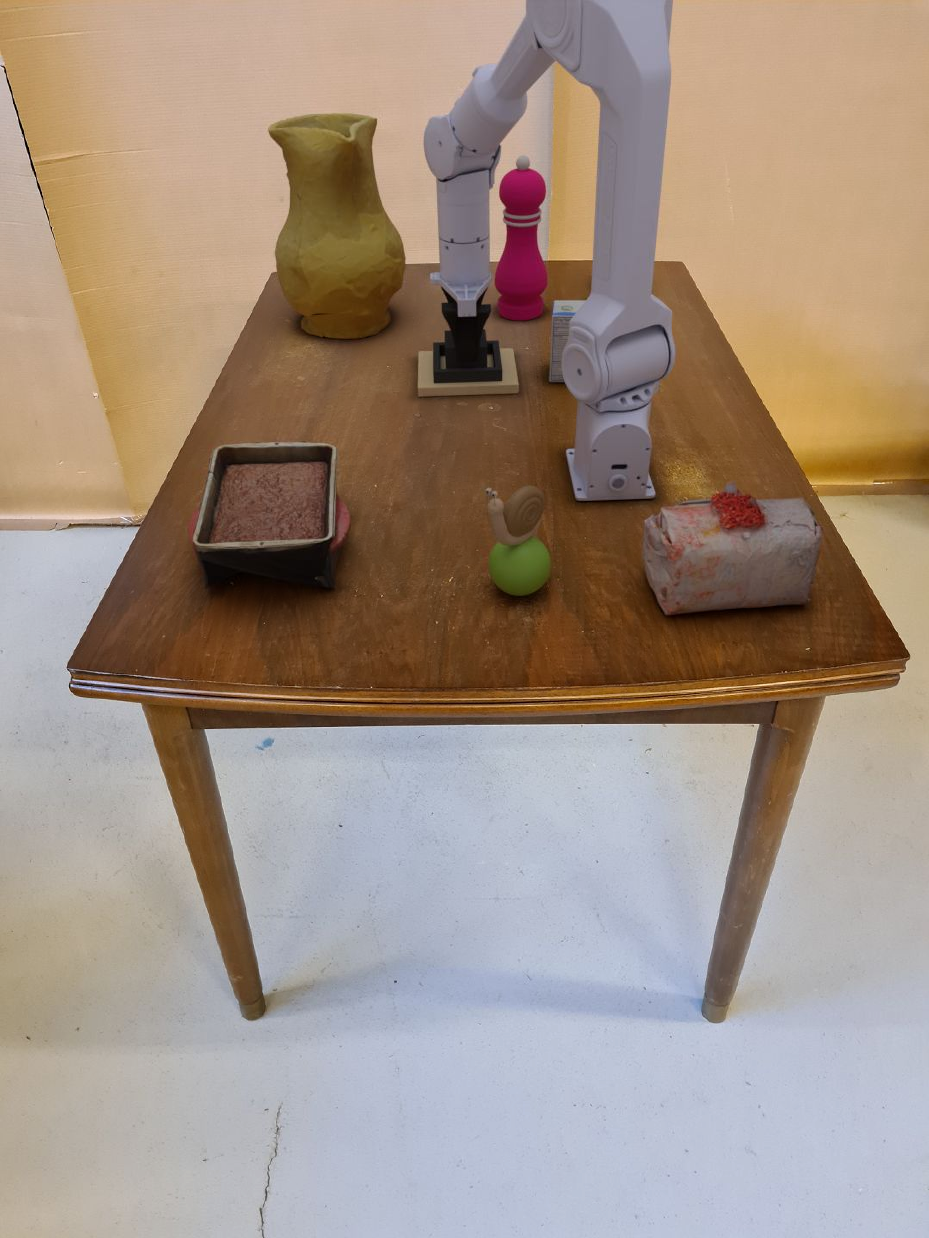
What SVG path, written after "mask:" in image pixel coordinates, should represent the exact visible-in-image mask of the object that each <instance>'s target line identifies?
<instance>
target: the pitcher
mask: <svg viewBox="0 0 929 1238" xmlns="http://www.w3.org/2000/svg"><path fill="white" fill-rule="evenodd" d="M377 125H378V118H377V117H375V116H374V117H373V116H369V115H365V114H359V113H351V112H350V113H346V112H345V113H338V112H337V113H336V112H335V113H307V114H303V115H296V116H293V117H288V118H287V117H286V118H285V119H281V120H278V121H276V122H273V123H271V124H270V125H269V126H268V127H267V131H268V134H269V137H270V138H271V139H272V140H273V141H274V142H275V144H277V145H278V146H279V147H280V148H281V150H282V158H283V160H284V162H285V166H286V171H287V172H286V177H287V180H288V185H289V208H288V214H287V217H286V219H285V222H284V224H283V227H282V228H281V230H280V232H279V235H278V237H277V239H276V243H275V249H274V257H275V268H276V275H277V280H278V282H279V285H280V288H281V291H282V294H283V298H284V299H286V301H287V302H288V303H289V305H290V307H291V308H292V309H293V311H294V312H295V313H297V314H300V315H302V316H303V318H302V319H301V320H300V325H301V326H300V329H301V330H303V331H305V333H306V334H308V335H313V336H316V337H320V338H323V337H325V338H328V339H338V340H341V339H343V340H350V339H353V340H354V339H362V338H366V337H371V336H375V335H377V334H379V333H380V331H382V330H384V329H385V328H387V326H388V325H389V323H390V322H391V321H392V319H391V312H390V311H389V310H388V307H389V305H390V302H391V300H392V298H393V296H394V295H396V293H397V292H399V291H400V290H401V289H402V288H403V282H404V274H405V270H406V261H407V260H406V259H407V258H406V253H405V248H404V243H403V239H402V236H401V234H400V232H399V231H398V229H397V228H396V226H395V225H394V223H393V221H392V220H391V218H390V217H389V215H388V213H387V212H386V210H385V207H384V206H383V203H382V199H381V196H380V191H379V187H378V181H377V178H376V177H377V176H376V171H375V165H374V164H375V163H374V154H373V143H374V142H373V140H374V137H375V133H376V129H377Z"/></svg>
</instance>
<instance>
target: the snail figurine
mask: <svg viewBox="0 0 929 1238" xmlns="http://www.w3.org/2000/svg"><path fill="white" fill-rule="evenodd" d="M485 494H486V495H487V502H488V503H487V505H486V510H487V513H488V514H489V521H490V526H491V529H492V533H493V535H494V537H495V540H496V541H497V542H496V543H495V544H494V546H493V547H492V549H491V551H490V553H489V557H488V563H487V564H488V565H487V566H488V572H489V576H490V579H491V580H492V582H493V583H494V585H495V586H496V587H497V588H498V589H499V590H500V591H502V592H504V593H506V594H508V595H511V596H517V597H518V596H519V597H523V596H528V595H531V594H533V593H535V592H537V591H539V590H540V589H541V588H542V587H543V586H544V585H545V583H546V582H547V581H548V579H549V576H550V573H551V569H552V559H551V555H550V552H549V550H548V548H547V547H546V545H545V544H544V543H543V542H542V541H541V540H540V539H539V538H537V537H536V536H534V535H535V533H536V532H537V531H538V528H539V526H540V524H541V521H542V516H543V514H544V510H545V497H544V493H543V492H542V490H541V489H540V488H538V486H535V485H524V486H521V487H519V488H518V489H516V490H515V491H513V493H512V494H511V495H510V496H509V497H508V499H507V500H506V502H505V503H504V502H503V500H502V499H500V498H499V497H498V496H499V492H498V491H497V490H493V489H492V488H491V487H487V488H485ZM490 495H491V497H492V499H490Z"/></svg>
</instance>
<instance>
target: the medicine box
mask: <svg viewBox="0 0 929 1238" xmlns="http://www.w3.org/2000/svg"><path fill="white" fill-rule="evenodd" d="M586 300H587V299H586ZM586 300H579V299H577V300H575V299H573V300H571V299H570V300H569V299H568V300H567V299H566V300H565V299H564V300H563V299H562V300H561V299H560V300H559V299H556V300H553V301H552V307H551V308H552V309H551V317H550V318H551V321H550V323H551V324H550V345H549V347H550V349H549V374H548V375H549V376H548V381H549V383H565V381H564V378H563V374H562V367H561V363H562V354H563V351H564V348H565V346H566V343H567V341H568V337H569V323H570V320H571V319H572V318H573V316H574V315H575V314H576V312H577V311H578V310H579V309H580V307H581V306H582V305H583V304H584V302H585V301H586Z"/></svg>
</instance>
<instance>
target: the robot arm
mask: <svg viewBox="0 0 929 1238" xmlns="http://www.w3.org/2000/svg"><path fill="white" fill-rule="evenodd" d="M673 6H674V0H525V15H524V17H523V18H522V20H521V22H520V24H519V26H518V27H517V29H516V31H515V32H514V34H513V36H512V38H511V40H510V41H509V43H508V45H507V47H506V48H505V50H504V51H503V54H502V55H501V57H500V59H499V61H498V63H497V62H496V63H495V62H494V63H488V64H484V65H483V64H482V65H478V66H476V67H475V68H474V69H473V72H472V73H471V76H472V79H471V80H470V82H469V83H468V85H467V86H466V88H465V89H464V90H463V92H462V94H461V95H460V97H457V99H456V100H455V102H454V106H453V107H452V108H451V110H450V111H449V113H448V114H443V115H436V116H435V115H434V116H432V117H430V118H429V119H428V122H427V124H426V126H425V129H424V133H423V151H424V152H423V153H424V157H425V160H426V164H427V166H428V168H429V170H430V172H431V173H432V175H433V176H434V177H435V183H436V184H435V185H436V187H435V189H436V209H437V210H436V211H437V232H438V233H437V236H438V255H439V256H438V257H439V258H438V259H439V271H437V272H431V273H430V274H429V283H430V284H431V285H432V286H437V285H438V286H440V289H441V291H442V293H443V294H444V297H445V299H446V301H447V302H441V304H440V305H441V306H440V307H441V314H442V316H443V318H444V320H445V322H446V324H447V326H448V327H449V330H451V333H452V336H453V341H454V346H455V351H456V355H457V358H458V361H459V363H465V362H476V360H477V356H478V352H479V346H480V340H481V335H482V331H483V329H485V325H486V324H487V321H488V319H489V318H490V316H491V313H492V303H485V304H483V303H482V302H483V300H484V297H485V294H486V292H487V291H488V289H489V286H490V285H491V283H492V282H493V281H492V280H493V279H492V272H491V256H490V255H491V253H490V252H491V249H490V248H491V247H490V246H491V243H490V242H491V241H490V240H491V236H490V235H491V233H490V232H491V226H490V223H491V221H490V218H491V217H490V215H491V214H490V211H491V210H490V209H491V208H490V197H491V196H490V191H491V190H492V189H493V188H494V185H495V178H496V177H495V176H496V170H497V167H498V165H499V163H500V161H501V156H502V145H501V144H502V142H503V141H504V140H505V138H506V137H507V136H508V135H509V134H510V132H511V131H512V130H513V128H515V126H516V125H517V124H518V122H519V121H520V120H521V118H522V117H523V116H524V115H525V113H526V111H527V108H528V93H527V92H529V90H530V89H531V88H532V87H533V85H535V83H536V82H538V80H539V79H540V78H541V77H542V76H543V75H544V74H545V73H546V72H547V71H548V70H549V69H550V67H551V66H552V65H553V64H555V62H556V63H558V64H559V65H560V66H561V67H562V68H563V69H564V70H565V71H566V72H567V73H568V74H569V75H571V77H573V78H574V79H575V80H576V81H577V82H578V83H580V84H581V85H585V86H587V87H589V88H590V89H591V90H592V92H593V93H594V95H595V96H596V98H597V99H598V101H599V121H598V122H599V123H598V143H597V161H596V162H597V163H596V182H595V184H596V185H595V203H594V221H593V222H594V224H593V241H592V242H593V243H592V245H593V247H592V263H591V264H592V266H591V284H590V285H591V287H590V294H589V296H588V297H587V299H586V301H585V302H584V304H583V305H582V306H581V307H580V309H579V310H578V311H577V312H576V314H575V315H574V316H573V318H572V319H571V320H570V323H569V337H568V341H567V343H566V346H565V348H564V351H563V354H562V363H561V367H562V374H563V378H564V381H565V382H564V383H565V386H566V388H567V390H568V391H569V392H570V394H571V395H572V396H573V397H574V398H575V399H576V401H577V404H576V405H577V406H576V420H575V421H576V422H575V435H574V436H575V437H574V448H567V449H566V450H565V457H566V461H567V466H568V471H569V475H570V479H571V484H572V489H573V494H574V499H575V500H576V501H579V502H588V501H613V500H614V501H619V500H642V499H643V500H645V499H648V500H649V499H654V498H655V497H656V490H655V487H654V484H653V482H652V478H651V476H650V473H649V471H650V463H651V457H652V450H653V449H652V448H653V443H652V438H651V434H650V430H649V427H650V426H649V425H650V419H651V409H652V401H653V396H654V395H655V394H656V393H658V392H659V389H660V381H661V380H664V379H665V378H667V377H668V376H669V375H670V374H671V372H672V370H673V368H674V365H675V361H676V345H675V341H674V336H673V328H672V325H673V323H672V322H673V311H672V309H670V308H669V307H668V305H666V304H665V302H663V301H662V299H660V298H658V297H657V296H655V295H654V294H652V292H653V280H654V272H655V271H654V269H655V259H656V250H657V249H656V248H657V238H658V229H659V228H658V227H659V216H660V205H661V192H662V183H663V171H664V162H665V151H666V150H665V149H666V139H667V128H668V119H669V118H668V116H669V106H670V95H671V85H672V63H671V56H670V41H671V40H670V39H671V30H672V29H671V28H672V18H673Z"/></svg>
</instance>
